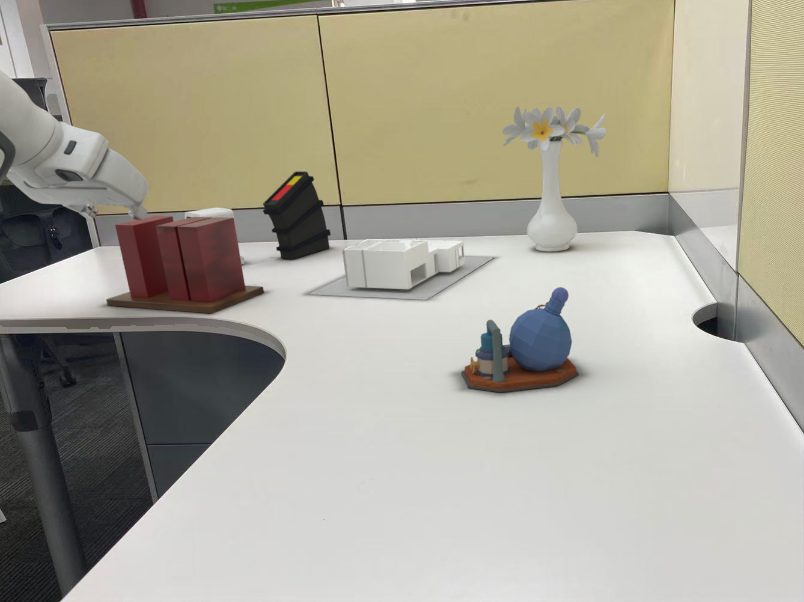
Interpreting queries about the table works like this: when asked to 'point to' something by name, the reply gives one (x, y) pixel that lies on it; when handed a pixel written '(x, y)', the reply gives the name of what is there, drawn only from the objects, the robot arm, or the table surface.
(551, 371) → the model
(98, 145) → the robot arm
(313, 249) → the magazine
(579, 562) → the table surface
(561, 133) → the flower vase
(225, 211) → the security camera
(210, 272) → the book rack
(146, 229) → the book
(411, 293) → the house
